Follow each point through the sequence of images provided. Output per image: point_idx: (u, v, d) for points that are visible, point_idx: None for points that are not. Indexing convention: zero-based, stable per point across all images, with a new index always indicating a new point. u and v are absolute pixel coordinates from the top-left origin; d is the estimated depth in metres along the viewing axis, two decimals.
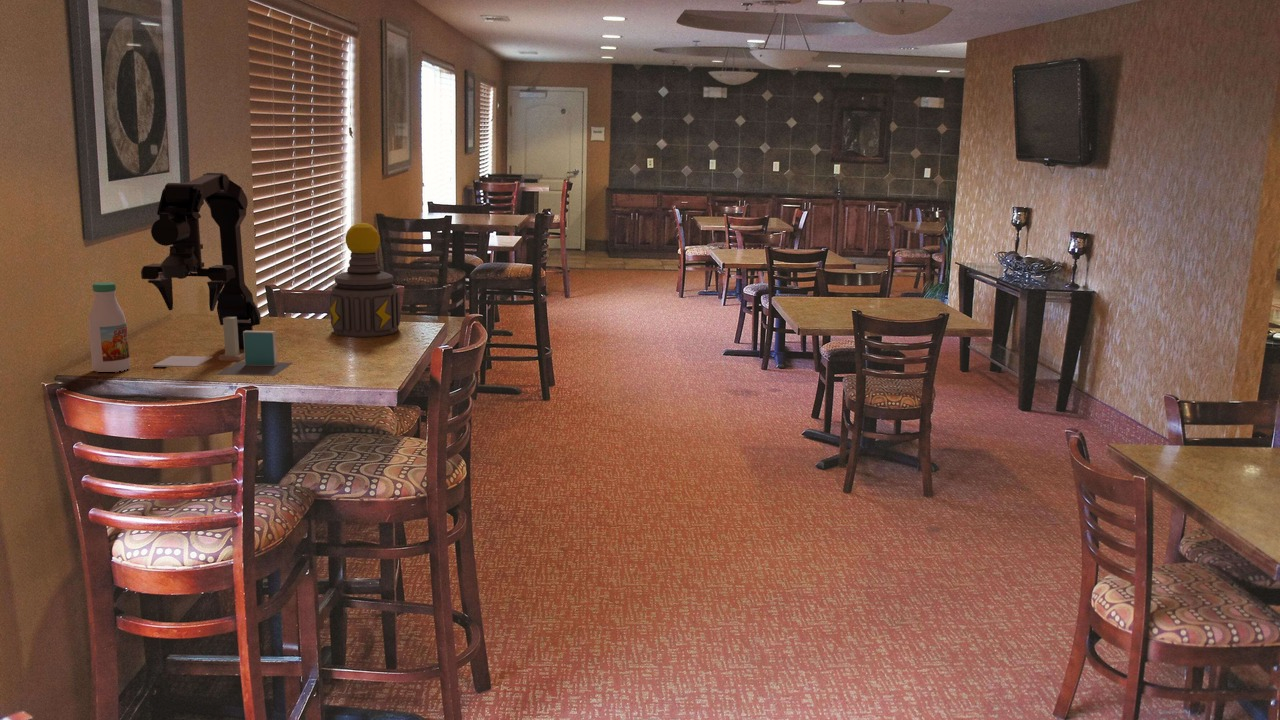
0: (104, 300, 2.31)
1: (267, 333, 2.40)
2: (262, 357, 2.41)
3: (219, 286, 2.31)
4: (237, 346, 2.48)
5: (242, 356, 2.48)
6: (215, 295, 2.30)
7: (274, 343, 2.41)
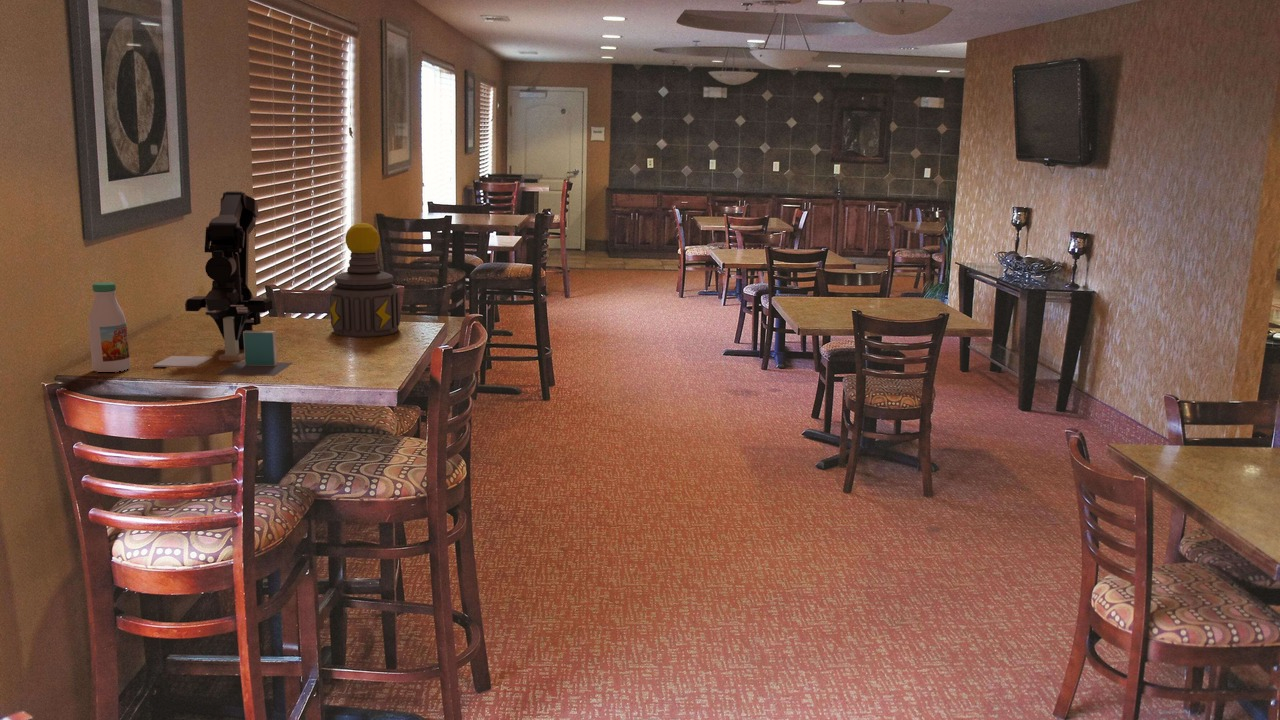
0: (104, 300, 2.31)
1: (267, 333, 2.40)
2: (262, 357, 2.41)
3: (244, 317, 2.47)
4: (237, 346, 2.48)
5: (242, 356, 2.48)
6: (240, 325, 2.46)
7: (274, 343, 2.41)
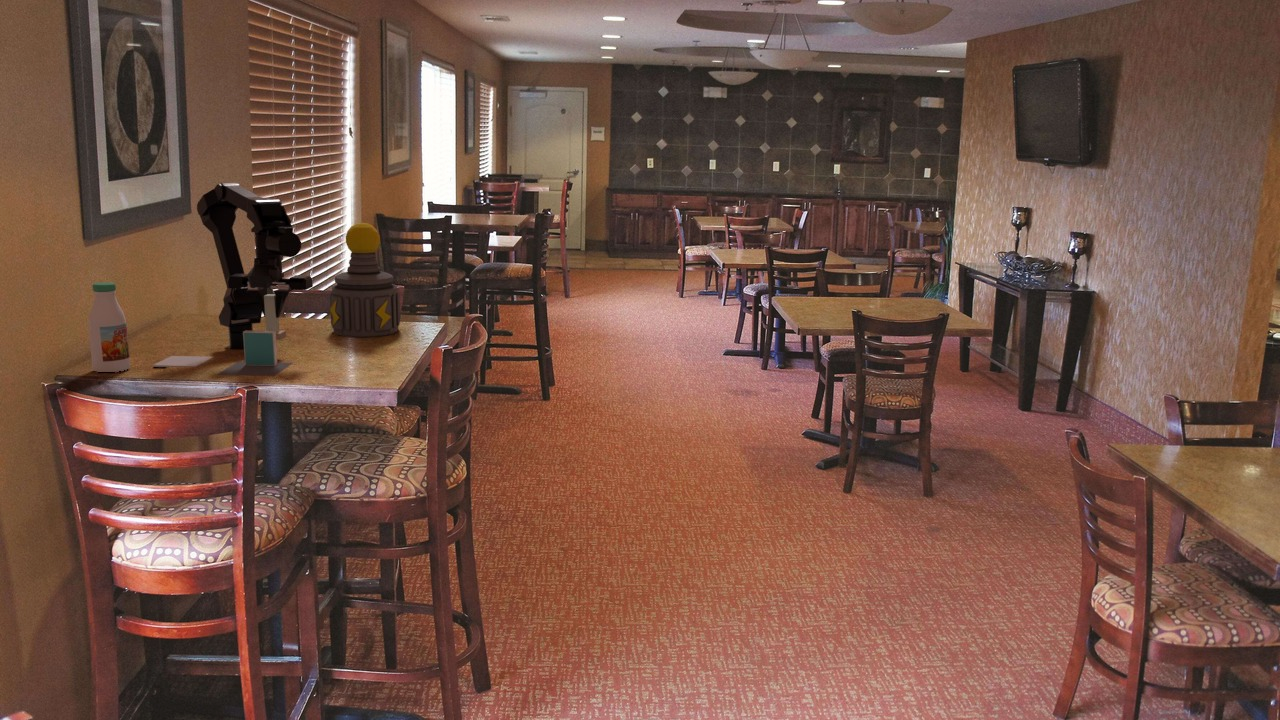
0: (104, 300, 2.31)
1: (267, 333, 2.40)
2: (262, 357, 2.41)
3: (284, 294, 2.49)
4: (277, 323, 2.50)
5: (282, 333, 2.49)
6: (281, 303, 2.48)
7: (274, 343, 2.41)
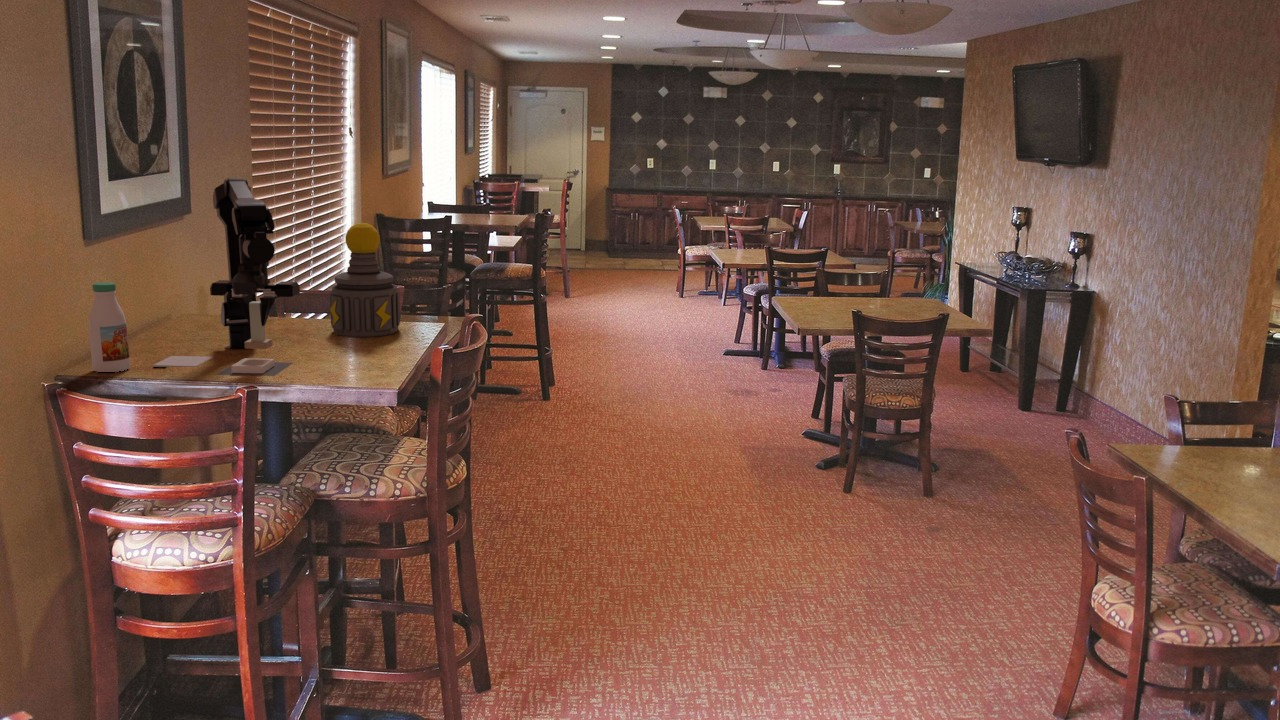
0: (104, 300, 2.31)
1: (257, 373, 2.34)
2: None
3: (270, 301, 2.39)
4: (263, 332, 2.40)
5: (268, 342, 2.40)
6: (267, 310, 2.38)
7: (266, 368, 2.36)
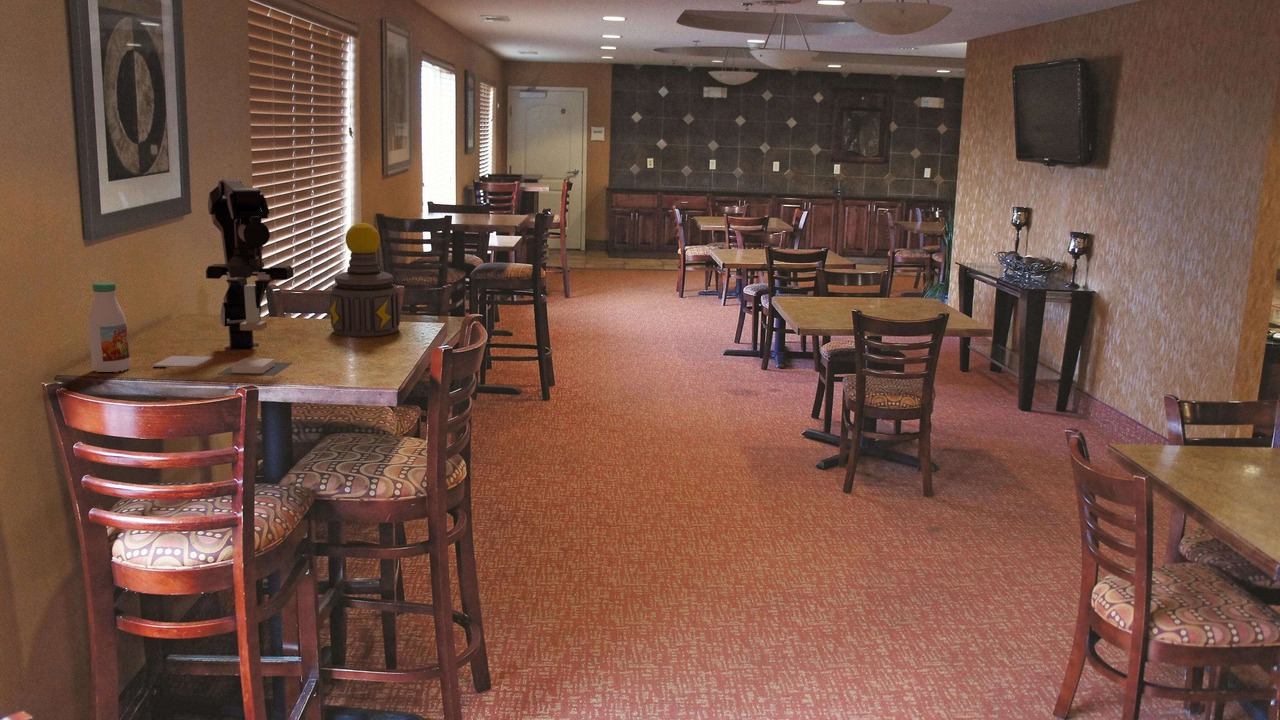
0: (104, 300, 2.31)
1: (257, 373, 2.34)
2: None
3: (265, 285, 2.46)
4: (258, 314, 2.46)
5: (263, 324, 2.46)
6: (261, 293, 2.44)
7: (266, 368, 2.36)
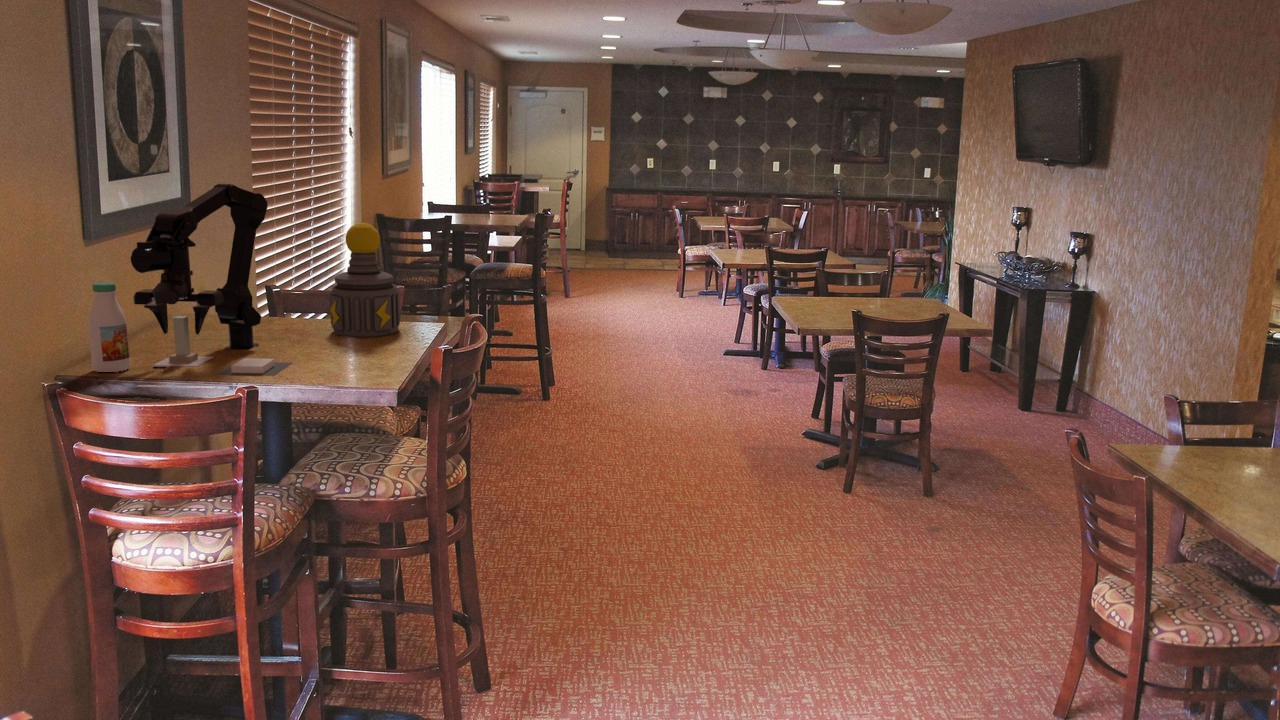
0: (104, 300, 2.31)
1: (257, 373, 2.34)
2: None
3: (204, 310, 2.43)
4: (188, 346, 2.44)
5: (193, 356, 2.43)
6: (200, 319, 2.41)
7: (266, 368, 2.36)
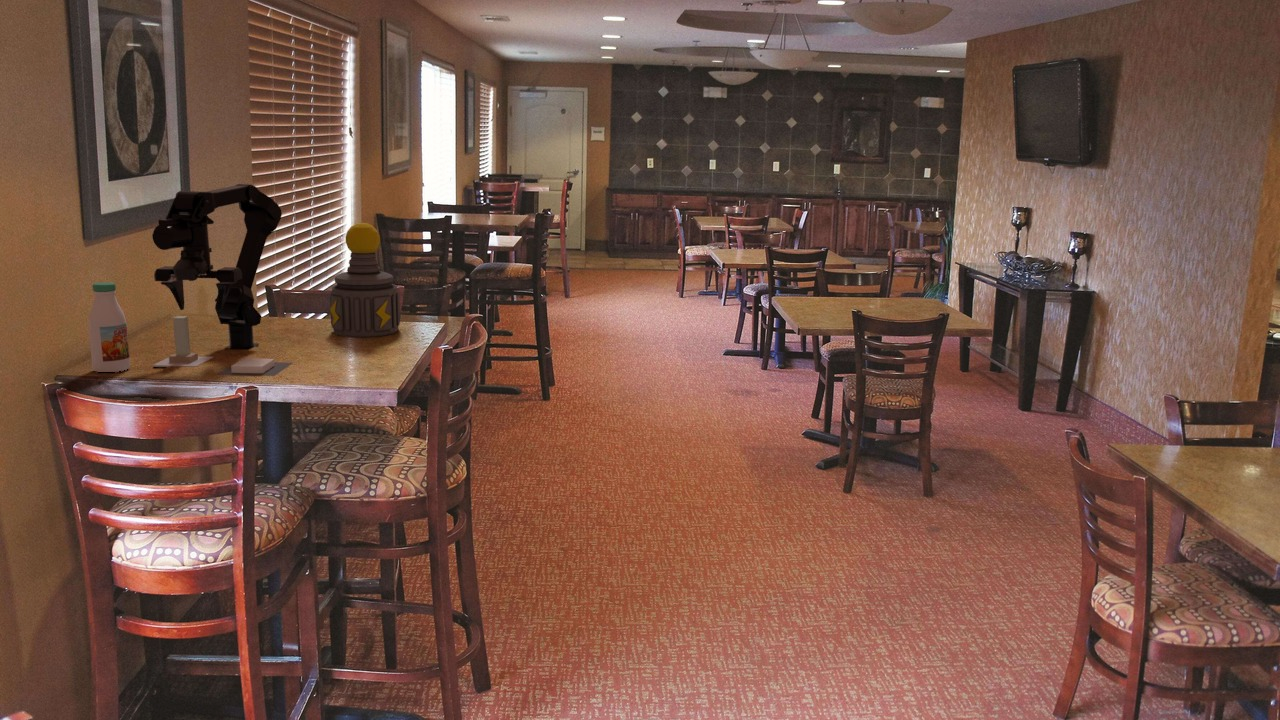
0: (104, 300, 2.31)
1: (257, 373, 2.34)
2: None
3: (227, 287, 2.47)
4: (188, 346, 2.44)
5: (193, 356, 2.43)
6: (223, 295, 2.46)
7: (266, 368, 2.36)
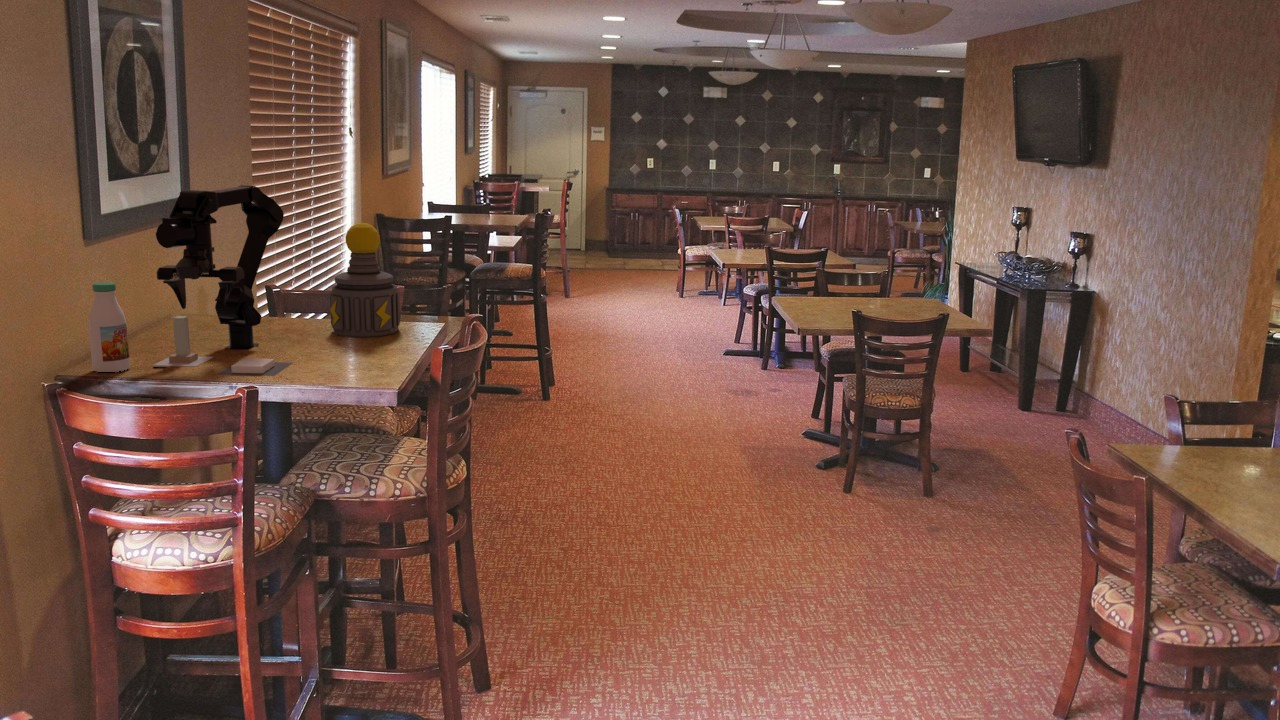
0: (104, 300, 2.31)
1: (257, 373, 2.34)
2: None
3: (229, 286, 2.47)
4: (188, 346, 2.44)
5: (193, 356, 2.43)
6: (225, 295, 2.46)
7: (266, 368, 2.36)
